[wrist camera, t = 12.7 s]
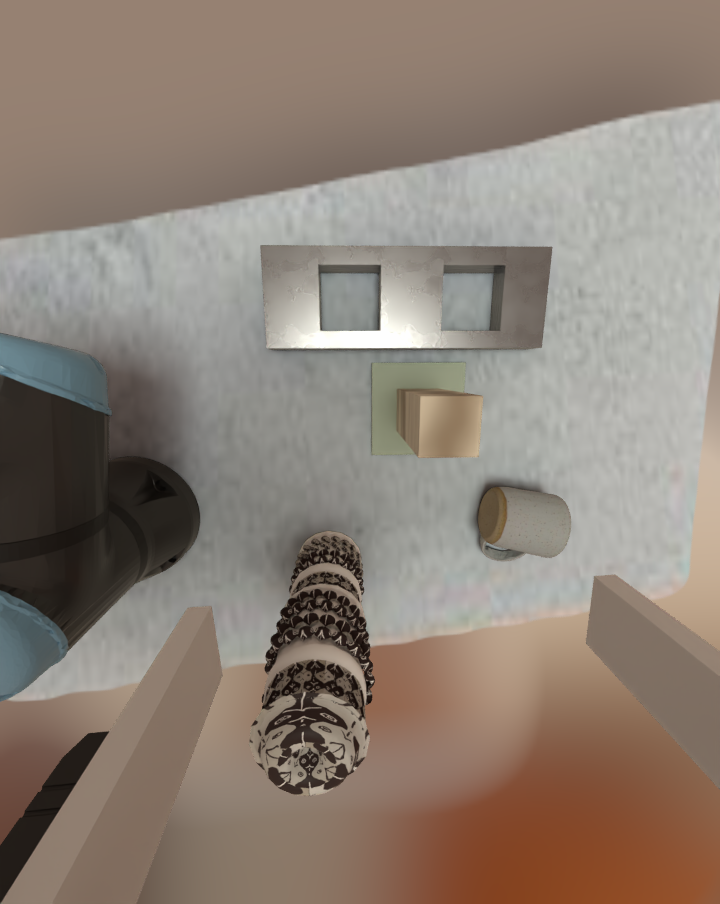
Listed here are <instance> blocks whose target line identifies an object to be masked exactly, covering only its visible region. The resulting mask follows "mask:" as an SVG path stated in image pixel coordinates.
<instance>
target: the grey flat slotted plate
mask: <svg viewBox="0 0 720 904" xmlns="http://www.w3.org/2000/svg"><path fill="white" fill-rule="evenodd" d="M260 247H261V263H262V279H263V295H264V311H265V328H266V344H267V349H271V350H472V349H534V348H542V340H543V330H544V321H545V312H546V302H547V293H548V283H549V274H550V265H551V255H552V247H481V246H289V245H260ZM320 273H379V313H378V331H322V313H321V277H320ZM443 273H494V279H493V292H492V306H491V319H490V331H441V314H442V291H443Z"/></svg>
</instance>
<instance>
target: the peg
mask: <svg viewBox="0 0 720 904" xmlns="http://www.w3.org/2000/svg"><path fill="white" fill-rule="evenodd" d="M482 404H483V396H480V395H474V394H468V393H462V392H457V391H451V390H445V389H439V388H434V389H397V418H396V431H397V432H398V433H399V434H400V436H401V437H402V438H403V439H404V441H405V442H406V443H407V444H408V445H409V447H410V448H411V449H412V450H413V452H414V453H415V454H416V455H417V456H418V458H440V457H479V445H480V431H481V418H482Z"/></svg>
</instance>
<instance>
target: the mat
mask: <svg viewBox="0 0 720 904" xmlns="http://www.w3.org/2000/svg"><path fill="white" fill-rule="evenodd" d="M465 367H466V363H372V455H408V454H415V453H414V452H413V450H412V449H411V448H410V447H409V445H408V444H407V443H406V442H405V441H404V439H403V438H402V437H401V436H400V434H399V433H398V432H397V431H396V418H397V389H434V388H439V389H445V390H451V391H457V392H462V393H464V383H465Z"/></svg>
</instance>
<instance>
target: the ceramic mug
mask: <svg viewBox="0 0 720 904" xmlns="http://www.w3.org/2000/svg"><path fill="white" fill-rule="evenodd" d="M478 525H479V530H480V533H481V537H480V545H481V549H482V552H483V553H484V555H485V556H486V557H488V558H490V559H493V560H497V561H511V560H515V559H517V558H520V557H522V556H523V555H525V554H526V553H528V554H532V555H537V556H541V557H545V558H552V557H554V556H557V555H558V554H559V553H560V552H561V551H562V550H563V549H564V548H565V546H566V544H567V542H568V539H569V535H570V530H571V516H570V512H569V509H568V506H567V504H566V503H565V501H564V500H563V499H562V498H560V497H559V496H557V495H553V494H546V493H540V492H535V491H528V490H521V489H516V488H511V487H494V488H491V489H490V490H489V491H488V492H487V493H486V494H485V495H484V497H483V499H482V501H481V505H480V508H479V514H478ZM486 542H488V543H490V544H492V545H494V546H497V547H500V548H505V549H511V550H508V551H498V550H495V549H491V548H490V547H486V546H485V544H486Z"/></svg>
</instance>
